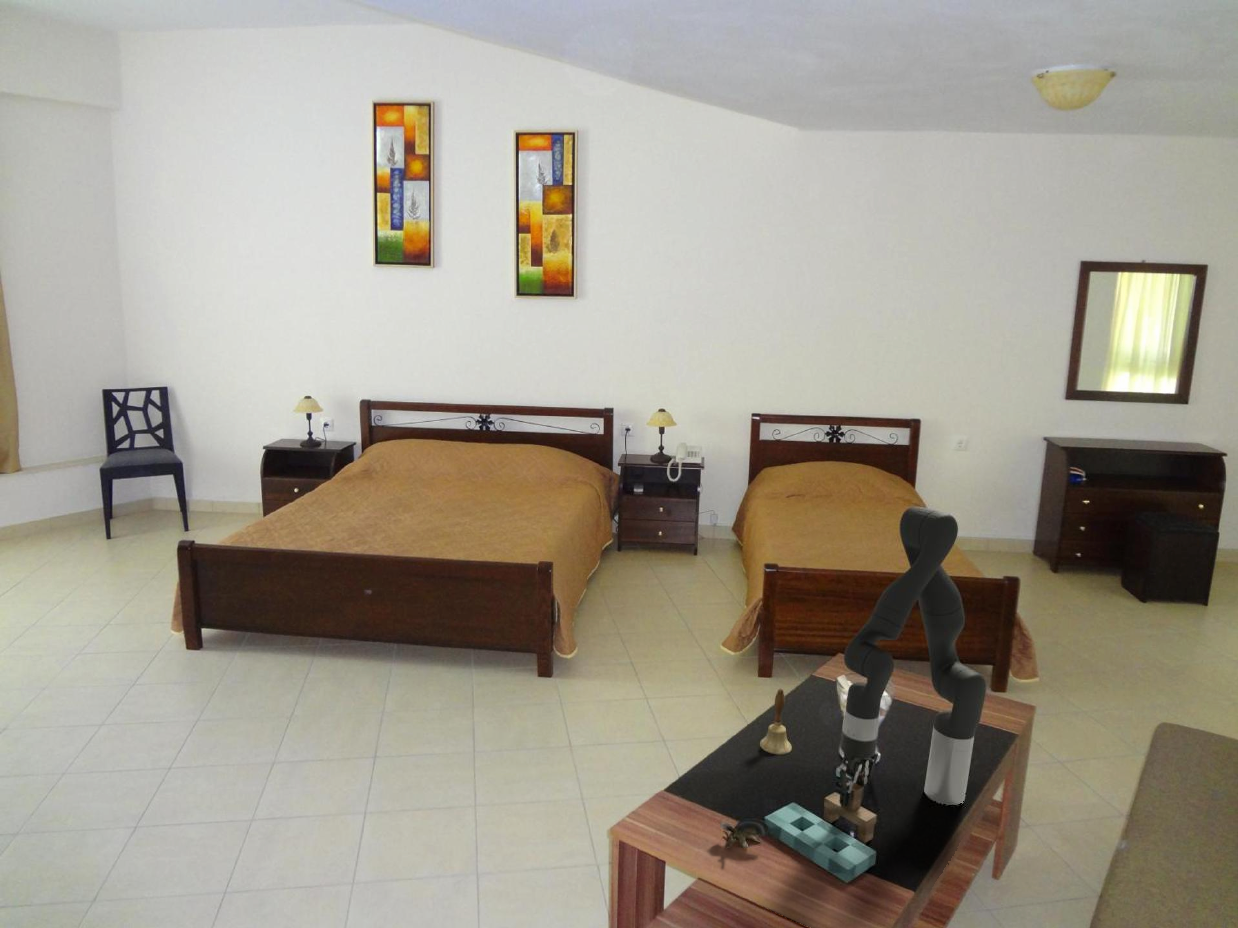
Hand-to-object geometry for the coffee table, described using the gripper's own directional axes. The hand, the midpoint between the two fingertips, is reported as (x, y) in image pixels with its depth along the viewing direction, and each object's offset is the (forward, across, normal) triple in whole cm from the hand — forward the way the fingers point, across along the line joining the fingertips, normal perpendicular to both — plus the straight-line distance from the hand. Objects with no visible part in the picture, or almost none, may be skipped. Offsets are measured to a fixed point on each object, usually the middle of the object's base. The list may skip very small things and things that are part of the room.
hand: (851, 800), depth 197 cm
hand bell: (+7, +15, +33) cm, 37 cm away
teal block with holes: (+7, -11, 0) cm, 13 cm away
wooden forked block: (+7, 0, 0) cm, 7 cm away
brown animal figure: (+7, -24, +10) cm, 27 cm away
